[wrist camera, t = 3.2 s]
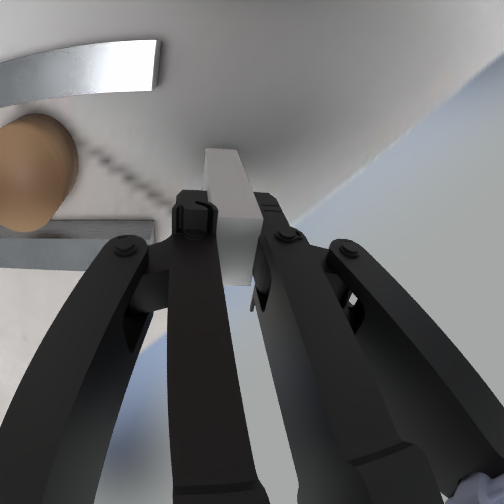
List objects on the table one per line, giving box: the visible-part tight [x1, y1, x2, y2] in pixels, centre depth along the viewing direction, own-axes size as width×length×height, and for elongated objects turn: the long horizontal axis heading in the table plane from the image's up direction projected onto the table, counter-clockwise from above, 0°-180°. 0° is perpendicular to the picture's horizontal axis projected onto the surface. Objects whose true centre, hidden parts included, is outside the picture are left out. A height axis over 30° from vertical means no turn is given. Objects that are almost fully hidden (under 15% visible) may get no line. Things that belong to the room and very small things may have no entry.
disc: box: [0, 114, 78, 232], centre depth 13 cm, size 6×6×3 cm
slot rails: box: [0, 40, 161, 271], centre depth 12 cm, size 13×18×2 cm
